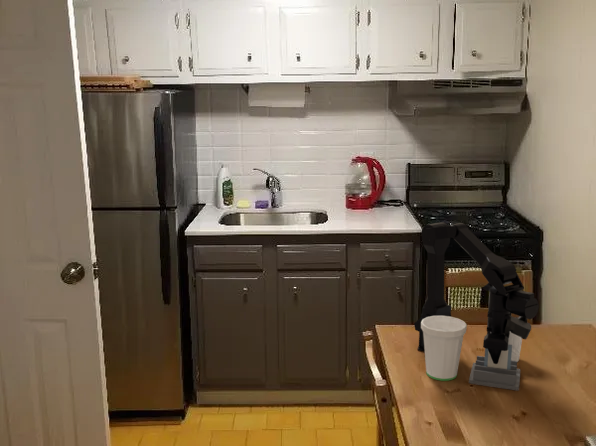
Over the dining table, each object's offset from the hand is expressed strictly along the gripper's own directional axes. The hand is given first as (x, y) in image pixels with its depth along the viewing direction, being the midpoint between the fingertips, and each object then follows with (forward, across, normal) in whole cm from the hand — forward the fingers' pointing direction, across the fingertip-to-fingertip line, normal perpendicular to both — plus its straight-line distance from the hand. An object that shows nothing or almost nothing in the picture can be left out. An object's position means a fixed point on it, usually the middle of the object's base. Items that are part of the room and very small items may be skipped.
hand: (495, 361), depth 179 cm
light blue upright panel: (+4, 0, 0) cm, 4 cm away
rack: (+5, 0, 0) cm, 5 cm away
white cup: (+5, +14, -2) cm, 16 cm away
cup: (+5, -3, +14) cm, 15 cm away
